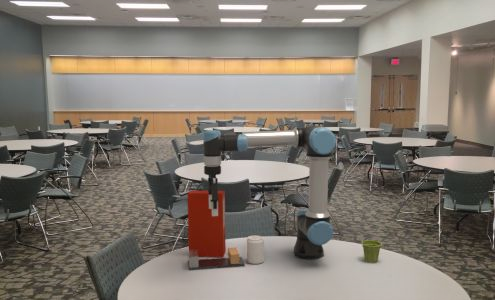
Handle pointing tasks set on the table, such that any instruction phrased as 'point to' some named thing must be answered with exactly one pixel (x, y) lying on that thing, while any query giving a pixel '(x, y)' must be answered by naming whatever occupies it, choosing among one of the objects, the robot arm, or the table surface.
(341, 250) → the table surface
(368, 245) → the plant pot
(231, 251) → the block
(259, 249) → the beverage can
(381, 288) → the table surface
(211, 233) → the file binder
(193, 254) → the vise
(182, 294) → the table surface
